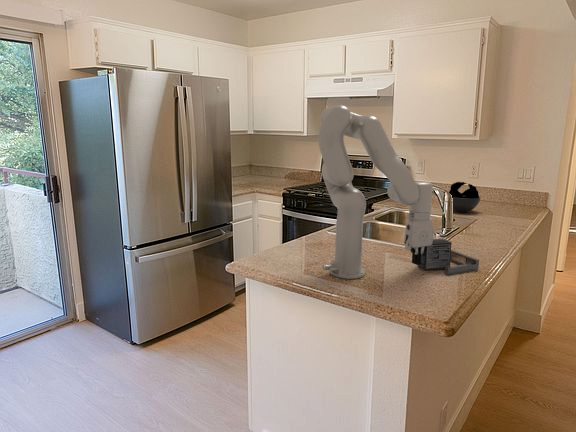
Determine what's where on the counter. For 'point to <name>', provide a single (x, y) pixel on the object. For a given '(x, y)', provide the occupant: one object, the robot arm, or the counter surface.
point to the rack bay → (461, 263)
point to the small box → (436, 255)
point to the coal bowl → (464, 197)
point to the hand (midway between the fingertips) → (416, 263)
